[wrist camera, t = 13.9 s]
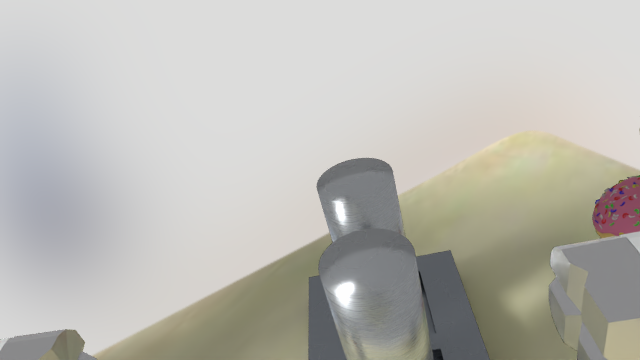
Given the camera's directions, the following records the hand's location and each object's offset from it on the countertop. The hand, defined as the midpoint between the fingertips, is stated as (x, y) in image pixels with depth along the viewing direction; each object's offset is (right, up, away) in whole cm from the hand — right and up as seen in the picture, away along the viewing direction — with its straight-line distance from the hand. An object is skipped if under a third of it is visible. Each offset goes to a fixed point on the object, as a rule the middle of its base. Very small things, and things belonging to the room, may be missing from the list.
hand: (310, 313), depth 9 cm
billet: (+5, -11, +21) cm, 24 cm away
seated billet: (+5, -7, +27) cm, 28 cm away
